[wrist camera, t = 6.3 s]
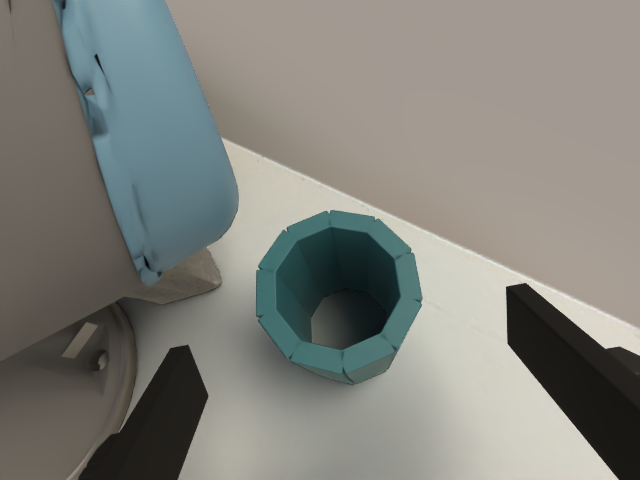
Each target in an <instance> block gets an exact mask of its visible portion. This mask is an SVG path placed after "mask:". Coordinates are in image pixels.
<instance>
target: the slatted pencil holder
mask: <svg viewBox="0 0 640 480" xmlns="http://www.w3.org/2000/svg"><path fill="white" fill-rule="evenodd" d="M287 231H288V232H287ZM287 231H285V230H283V231H282V232H281V234H280V235H279V236H278V238H277V239H276V241H275V242H274V244H273V245H272V246H271V248H270V249H269V251H268V252H267V254H266V255H265V256H264V258H263V259H262V261H261V262H260V264H259V265H258V267H259V268H260V269H261V270H257V271H256V316H257V317H259V319H258V322H259V323H260V324H261V326H262V327H263V328H264V330H265V331H266V332H267V334H268V335H269V336H270V338H271V339H272V340H273V342H274V343H275V344H276V346H277V347H278V348H279V350H280V351H281V352H282V353H283V355H284V356H285V357H286V358H287V359H289V360H291V362H293V363H295V364H297V365H299V366H301V367H303V368H305V369H307V370H310V371H312V372H314V373H316V374H318V375H320V376H322V377H326V378H330V379H333V380H337V381H341V382H345V383H349V384H352V385H353V384H354V383H355V384H358V383H361V382H363V381H365V380H367V379H370V378H372V377H374V376H377V375H379V374H381V373H383V372H385V371H386V370H387V369H388V368H389V367H390V365H391V363H392V361H393V359H394V357H395V355H396V353H397V352H398V350H399V348H400V346H401V344H402V342H403V340H404V338H405V336H406V334H407V332H408V331H409V329H410V327H411V325H412V323H413V321H414V319H415V317H416V315H417V313H418V311H419V310H420V308H421V306H422V304H421V301H422V293H421V287H420V282H419V277H418V272H417V267H416V261H415V256H414V253H411V248H410V247H409V246H408V245H407V244H406V243H405V242H404V241H402V240H401V239H400V238H399V237H398V236H397V235H396V234H395V233H394V232H393V231H392V230H390V229H389V228H388V227H387V226H386V225H385V224H384V223H383V222H382V221H381V220H380V219H377V220H376V221H375V217H373V216H367V215H361V214H354V213H348V212H342V211H335V210H331V211H330V215H329V213H328V211H324V212H322V213H319V214H317V215H315V216H312V217H310V218H308V219H305V220H303V221H300V222H298V223H296V224H293V225H291V226H289V227H287ZM344 288H347V289H352V290H357V291H362V292H367V293H369V294H370V295H371V296H372V297H373V298H374V299H375V300H376V301H377V302H378V303H379V304H380V305H381V306H382V307H383V308H384V310H385V311H386V316H387V322H386V324H385V325H384V327H383V329H382V331H381V333H379V334H377V335H375V336H373V337H370V338H368V339H366V340H363V341H361V342H359V343H357V344H354V345H352V346H350V347H348V348H345V349H343V350H339V349H335V348H330V347H326V346H322V345H318V344H314V343H312V336H311V316H312V315H313V313H314V312H315V310H316V308H317V307H318V305H319V304H320V302H321V300H322V299H323V297H325V296H328V295H330V294H332V293H335V292H337V291H339V290H342V289H344Z"/></svg>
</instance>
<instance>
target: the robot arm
mask: <svg viewBox="0 0 640 480" xmlns="http://www.w3.org/2000/svg"><path fill="white" fill-rule="evenodd" d="M238 202H239V193H238V187H237V183H236V179H235V176H234V173H233V170H232V167H231V164H230V161H229V158H228V155H227V153H226V150H225V147H224V144H223V142H222V139H221V136H220V134H219V131H218V128H217V126H216V123H215V121H214V118H213V115H212V113H211V111H210V108H209V105H208V103H207V100H206V98H205V95H204V93H203V90H202V88H201V85H200V83H199V80H198V78H197V75H196V73H195V70H194V68H193V66H192V63H191V61H190V58H189V56H188V53H187V51H186V49H185V46H184V44H183V41H182V39H181V36H180V34H179V31H178V29H177V27H176V25H175V22H174V20H173V18H172V15H171V13H170V11H169V8H168V6H167V4H166V1H165V0H0V480H178V477H179V474H180V472H181V469H182V466H183V463H184V461H185V458H186V455H187V453H188V450H189V447H190V445H191V442H192V439H193V436H194V434H195V431H196V428H197V426H198V423H199V420H200V418H201V415H202V412H203V409H204V407H205V404H206V401H207V399H208V393H207V391H206V388H205V386H204V383H203V381H202V378H201V376H200V373H199V370H198V368H197V365H196V363H195V360H194V358H193V355H192V353H191V350H190V348H189V345H185V346H179V347H174V348H170V350H169V352H168V353H167V355H166V357H165V358H164V360H163V362H162V363H161V365H160V367H159V368H158V370H157V372H156V373H155V375H154V377H153V378H152V380H151V382H150V383H149V385H148V387H147V388H146V390H145V392H144V393H143V395H142V397H141V398H140V400H139V402H138V403H137V405H136V407H135V408H134V410H133V412H132V413H131V415H130V417H129V418H128V420H127V422H126V423H125V425H124V427H123V428H122V430H121V431H120V433H117V432H118V430H119V428H120V426H121V424H122V422H123V420H124V417H125V415H126V412H127V409H128V407H129V403H130V400H131V397H132V393H133V388H134V383H135V376H136V363H137V357H136V345H135V339H134V335H133V331H132V328H131V326H130V323H129V321H128V319H127V317H126V315H125V313H124V312H123V310H122V309H121V307H120V306H119V305H118V304H117V303H116V302H115V301H117V300H119V299H121V298H123V297H124V296H126V295H128V294H130V293H132V292H134V291H136V290H138V289H140V288H142V287H144V286H146V287H147V286H149V287H150V286H152V285H154V284H156V282H158V281H159V280H160V279H161V278H162V273H163V272H165V271H167V270H168V269H170V268H172V267H173V266H175V265H177V264H178V263H180V262H182V261H184V260H185V259H187V258H189V257H190V256H192V255H194V254H195V253H197V252H199V251H200V250H202V249H204V248H205V247H207V246H209V245H210V244H212V243H214V242H215V241H217V240H218V239H220V238H221V237H222V235H223V234H225V233H226V232H227V230H228V229H229V228H230V227H231V224H232V222H233V220H234V218H235V215H236V213H237V211H238ZM506 300H507V339H508V345H509V346H510V347H511V349H512V350H513V351H514V352H515V353H516V355H517V356H518V357H519V358H520V359H521V361H522V362H523V363H524V364H525V366H526V367H527V368H528V369H529V370H530V372H531V373H532V374H533V375H534V377H535V378H536V379H537V380H538V381H539V383H540V384H541V385H542V386H543V388H544V389H545V390H546V391H547V392H548V394H549V395H550V396H551V397H552V399H553V400H554V401H555V402H556V403H557V405H558V406H559V407H560V408H561V410H562V411H563V412H564V413H565V414H566V416H567V417H568V418H569V419H570V421H571V422H572V423H573V424H574V425H575V427H576V428H577V429H578V430H579V432H580V433H581V434H582V435H583V436H584V438H585V439H586V440H587V441H588V443H589V444H590V445H591V446H592V447H593V449H594V450H595V451H596V452H597V454H598V455H599V456H600V457H601V458H602V460H603V461H604V462H605V463H606V465H607V466H608V467H609V468H610V469H611V471H612V472H613V473H614V474H615V476H616V477H617V478H618V479H619V480H640V356H639V355H637V354H635V353H632V352H630V351H628V350H626V349H624V348H621V347H614V348H608V349H605V348H603V347H602V346H601V345H600V344H599V343H597V342H596V341H595V340H594V339H593V338H591V337H590V336H589V335H588V334H587V333H585V332H584V331H583V330H582V329H581V328H579V327H578V326H577V325H576V324H574V323H573V322H572V321H571V320H570V319H568V318H567V317H566V316H565V315H564V314H562V313H561V312H560V311H559V310H558V309H556V308H555V307H554V306H553V305H552V304H550V303H549V302H548V301H547V300H546V299H544V298H543V297H542V296H541V295H539V294H538V293H537V292H536V291H535V290H533V289H532V288H531V287H530V286H529V285H527V284H526V283H524V284H518V285H513V286H507V287H506Z"/></svg>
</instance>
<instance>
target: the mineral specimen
mask: <svg viewBox="0 0 640 480" xmlns="http://www.w3.org/2000/svg"><path fill="white" fill-rule="evenodd" d="M220 284H222V278H221V276H220V272H219V269H218V268H217V266H216V265H215V263H214V261H213V259H212V257H211V254H210V252H209V251H208V250H207V249H206V247H205V248H204V249H202V250H200V251H199V252H197V253H195V254H194V255H192V256H190V257H189V258H187V259H185V260H184V261H182V262H180V263H178V264H177V265H175V266H173V267H172V268H170V269H168V270H167V271H165V272H163V273H162V278H161V279H160V280H159V281H158V282H156V284H154V285H152V286H150V287H149V286H147V287H146V286H144V287H142V288H140V289H138V290H136V291H134V292H132V293H130V294H128V295H126V296H127V297H131V298H134V299H143V300H146V301H151V302H155V303H158V304H166V303H170V302H174V301H176V300H181V299H185V298H187V297H189V296H195V295H198V294H201V293H205V292H208V291H209V290H211V289H215V288H217V287H218V286H219V285H220Z"/></svg>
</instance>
